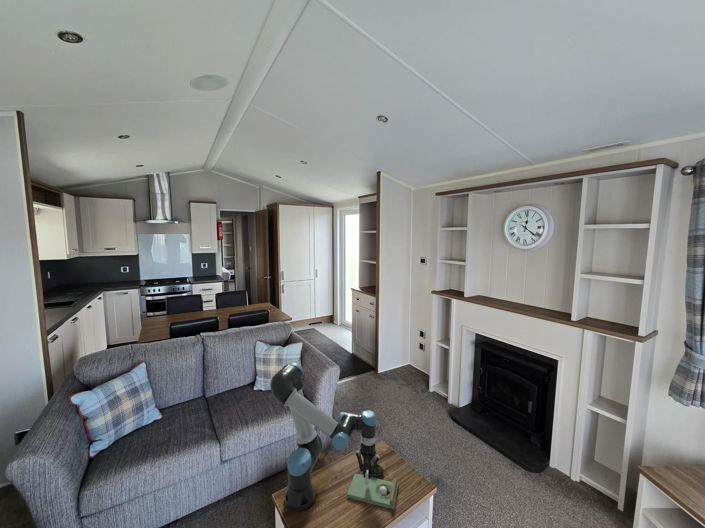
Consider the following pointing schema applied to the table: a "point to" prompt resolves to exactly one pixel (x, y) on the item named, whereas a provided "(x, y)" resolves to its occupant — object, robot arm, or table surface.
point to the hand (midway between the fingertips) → (367, 483)
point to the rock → (376, 469)
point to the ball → (383, 490)
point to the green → (373, 491)
